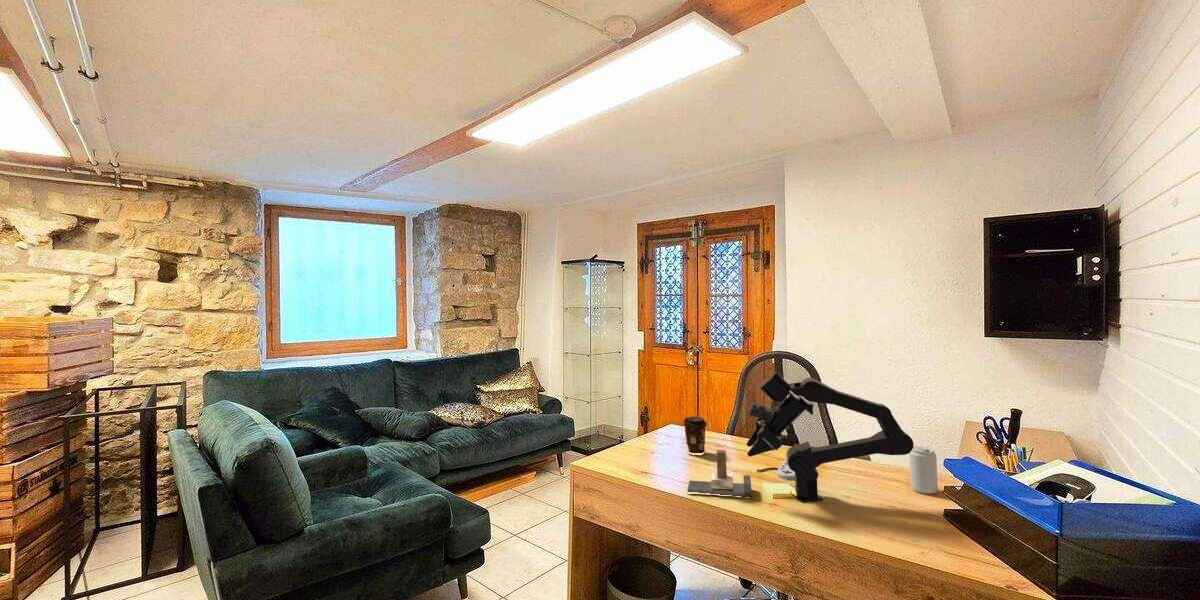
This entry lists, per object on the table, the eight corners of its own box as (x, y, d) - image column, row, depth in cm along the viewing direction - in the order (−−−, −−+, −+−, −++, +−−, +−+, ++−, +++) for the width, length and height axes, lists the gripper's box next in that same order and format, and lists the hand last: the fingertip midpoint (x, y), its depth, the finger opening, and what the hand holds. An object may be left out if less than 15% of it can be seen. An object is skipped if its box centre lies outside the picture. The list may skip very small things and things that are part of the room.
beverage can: (925, 496, 138) (924, 453, 138) (905, 488, 144) (904, 447, 144) (943, 493, 139) (941, 450, 139) (923, 485, 146) (921, 444, 146)
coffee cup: (679, 454, 183) (678, 418, 183) (692, 448, 189) (691, 414, 189) (699, 458, 177) (698, 422, 177) (712, 453, 183) (710, 417, 183)
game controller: (796, 482, 153) (796, 476, 153) (754, 476, 160) (754, 470, 160) (805, 467, 165) (804, 461, 165) (765, 462, 172) (765, 456, 172)
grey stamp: (733, 481, 149) (731, 448, 149) (732, 489, 143) (731, 455, 143) (712, 480, 150) (711, 447, 150) (711, 488, 145) (710, 454, 145)
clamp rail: (750, 489, 148) (750, 475, 148) (751, 498, 141) (751, 484, 141) (689, 485, 153) (689, 472, 153) (687, 494, 146) (687, 480, 146)
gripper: (762, 387, 152) (727, 422, 155) (766, 400, 134) (726, 439, 137) (791, 413, 150) (754, 448, 153) (799, 430, 132) (757, 469, 135)
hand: (747, 450), depth 145 cm, fingers open, 9 cm apart
